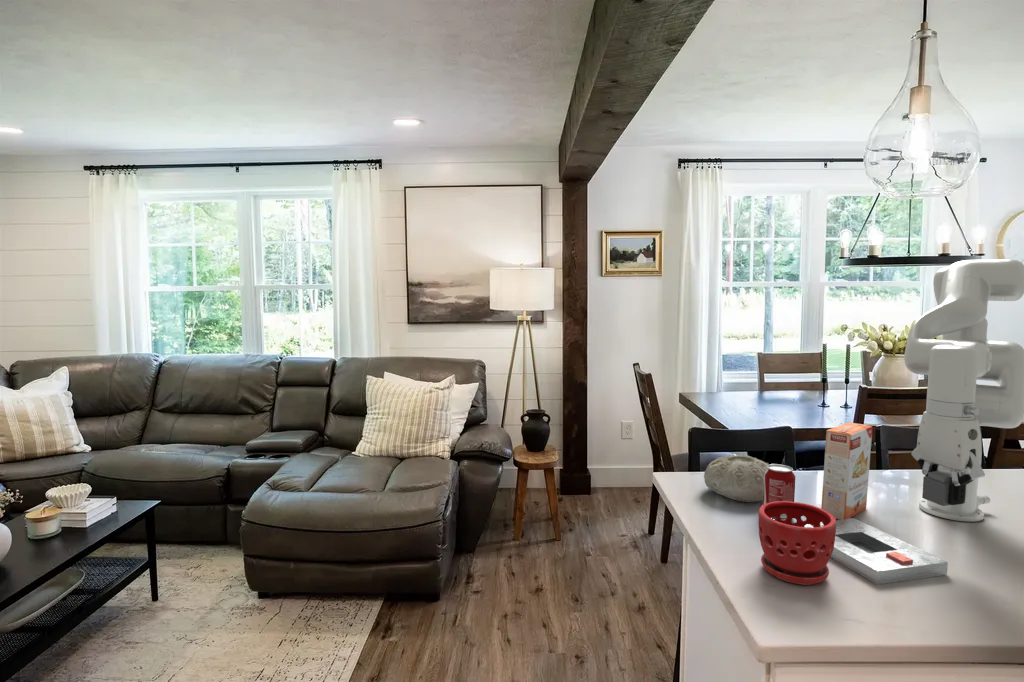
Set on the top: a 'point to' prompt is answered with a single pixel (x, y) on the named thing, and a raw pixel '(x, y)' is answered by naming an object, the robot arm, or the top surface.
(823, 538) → the plant pot
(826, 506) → the cracker box
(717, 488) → the decorative shell
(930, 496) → the plug
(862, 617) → the top surface
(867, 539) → the socket
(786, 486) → the soda can
